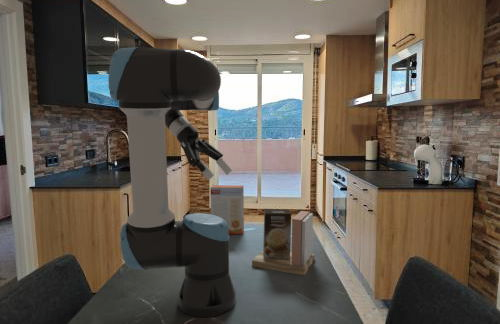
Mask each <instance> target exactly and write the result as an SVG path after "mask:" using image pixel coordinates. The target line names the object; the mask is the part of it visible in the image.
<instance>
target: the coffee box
mask: <svg viewBox="0 0 500 324" xmlns="http://www.w3.org/2000/svg"><path fill="white" fill-rule="evenodd" d="M263 210H264V213H263V247H262V248H263V249H262V251H263V257H264V259H279V260H290V250H291V245H292V212H291V210H290V209H283V208H282V209H280V208H279V209H278V208H264V209H263Z"/></svg>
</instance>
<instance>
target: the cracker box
mask: <svg viewBox="0 0 500 324" xmlns="http://www.w3.org/2000/svg"><path fill="white" fill-rule="evenodd" d="M244 194H245V192H244V185H225V184H224V185H223V184H222V185H220V184H219V185H217V184H216V185H213V184H212V186H211V187H210V214H211V215H215V216H218V217H221V218H223V219H224V220H225V221H226V222H227V224H228V232H229V235H243V234H244V231H245V222H244V221H245V218H244V217H245V213H244V212H245V209H244V206H245V205H244V204H245V203H244V202H245V201H244V199H245V198H244Z"/></svg>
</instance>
